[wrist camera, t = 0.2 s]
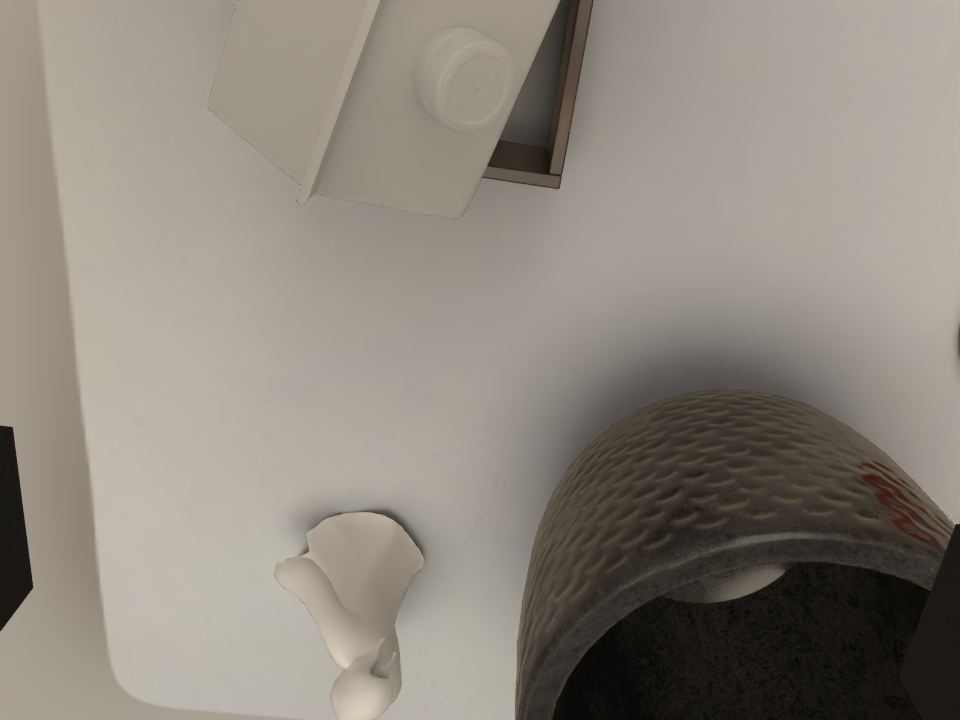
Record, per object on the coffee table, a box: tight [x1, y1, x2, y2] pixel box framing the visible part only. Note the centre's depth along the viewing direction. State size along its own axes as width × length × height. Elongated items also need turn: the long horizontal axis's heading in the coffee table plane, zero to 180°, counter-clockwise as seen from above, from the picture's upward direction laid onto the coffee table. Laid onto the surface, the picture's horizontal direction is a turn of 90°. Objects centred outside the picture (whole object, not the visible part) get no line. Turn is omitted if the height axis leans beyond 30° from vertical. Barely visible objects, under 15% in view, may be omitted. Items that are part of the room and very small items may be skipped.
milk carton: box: [207, 0, 560, 219], centre depth 27 cm, size 7×7×19 cm
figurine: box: [274, 512, 424, 720], centre depth 41 cm, size 8×8×12 cm
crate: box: [482, 0, 593, 189], centre depth 34 cm, size 11×11×5 cm
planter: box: [515, 390, 955, 720], centre depth 37 cm, size 17×17×16 cm
